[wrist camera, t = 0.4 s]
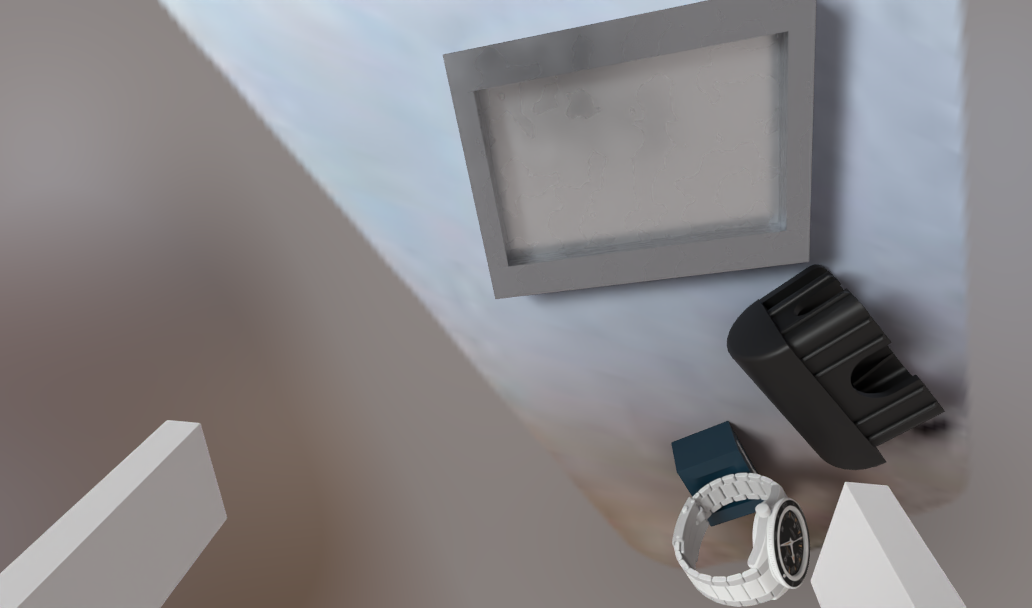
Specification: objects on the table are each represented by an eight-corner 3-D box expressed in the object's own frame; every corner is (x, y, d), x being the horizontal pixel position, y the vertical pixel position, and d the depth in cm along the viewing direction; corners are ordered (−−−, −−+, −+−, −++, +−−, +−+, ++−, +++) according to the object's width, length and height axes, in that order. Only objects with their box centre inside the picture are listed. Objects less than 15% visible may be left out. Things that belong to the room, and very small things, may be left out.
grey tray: (455, 53, 32) (442, 54, 29) (795, -17, 29) (816, -22, 26) (502, 280, 38) (495, 299, 35) (792, 244, 34) (809, 261, 32)
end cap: (714, 320, 37) (737, 377, 31) (813, 254, 35) (860, 301, 29) (800, 419, 40) (837, 489, 34) (899, 363, 37) (959, 428, 31)
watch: (785, 466, 41) (845, 601, 31) (681, 502, 44) (707, 638, 34) (754, 409, 40) (808, 533, 30) (648, 450, 42) (665, 577, 32)
